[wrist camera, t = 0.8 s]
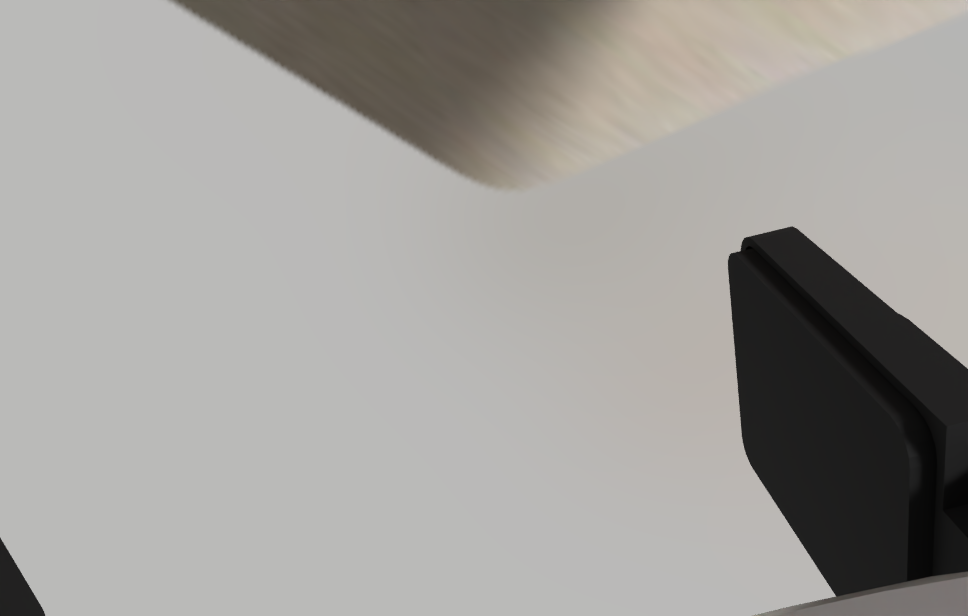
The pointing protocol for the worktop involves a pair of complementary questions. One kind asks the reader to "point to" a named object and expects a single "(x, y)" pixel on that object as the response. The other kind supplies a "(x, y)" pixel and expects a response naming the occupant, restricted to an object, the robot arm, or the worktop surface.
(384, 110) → the worktop surface
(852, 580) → the robot arm
